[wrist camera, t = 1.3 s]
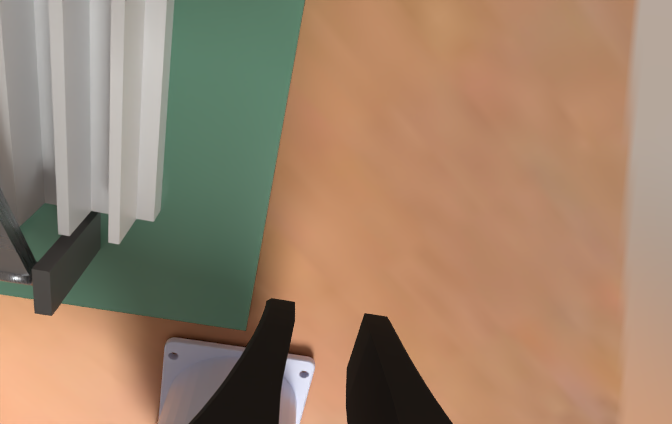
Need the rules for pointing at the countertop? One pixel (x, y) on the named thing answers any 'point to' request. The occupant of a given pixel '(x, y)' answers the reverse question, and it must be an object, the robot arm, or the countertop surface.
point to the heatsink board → (143, 149)
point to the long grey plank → (13, 249)
